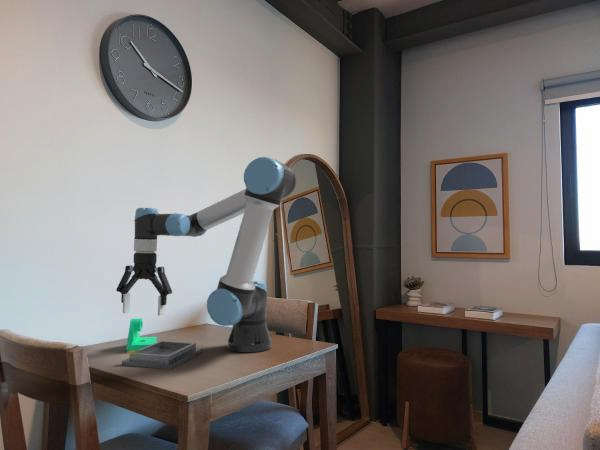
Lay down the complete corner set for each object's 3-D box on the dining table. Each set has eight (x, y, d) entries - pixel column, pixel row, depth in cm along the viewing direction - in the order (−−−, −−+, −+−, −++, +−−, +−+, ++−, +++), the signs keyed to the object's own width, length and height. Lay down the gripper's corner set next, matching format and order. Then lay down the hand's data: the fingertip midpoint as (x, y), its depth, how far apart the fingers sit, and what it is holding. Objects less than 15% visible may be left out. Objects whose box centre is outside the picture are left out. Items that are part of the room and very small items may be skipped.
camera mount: (150, 352, 142) (151, 321, 142) (126, 353, 141) (127, 322, 141) (157, 344, 154) (157, 315, 154) (134, 344, 153) (135, 315, 153)
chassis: (202, 352, 142) (202, 340, 142) (170, 369, 123) (170, 355, 123) (159, 348, 146) (159, 337, 146) (121, 365, 127) (122, 352, 127)
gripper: (183, 252, 149) (181, 314, 149) (120, 251, 155) (118, 309, 155) (172, 253, 142) (170, 317, 141) (107, 251, 148) (104, 313, 147)
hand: (143, 313), depth 148 cm, fingers open, 13 cm apart
